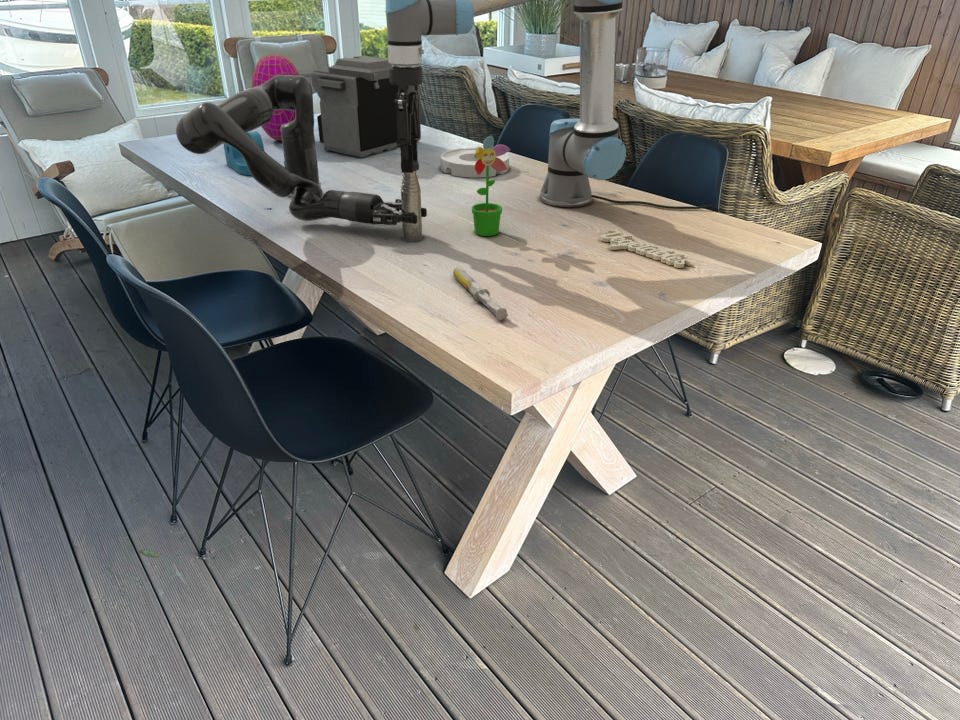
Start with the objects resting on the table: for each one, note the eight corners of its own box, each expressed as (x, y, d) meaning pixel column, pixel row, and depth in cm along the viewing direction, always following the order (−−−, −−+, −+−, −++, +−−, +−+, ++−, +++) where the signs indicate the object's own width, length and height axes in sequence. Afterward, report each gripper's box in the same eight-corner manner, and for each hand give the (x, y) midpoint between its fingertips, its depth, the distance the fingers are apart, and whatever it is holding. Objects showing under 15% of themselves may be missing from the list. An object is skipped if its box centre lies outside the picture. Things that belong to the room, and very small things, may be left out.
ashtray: (443, 158, 243) (443, 147, 241) (508, 159, 242) (508, 148, 240) (437, 176, 223) (437, 164, 221) (508, 178, 222) (509, 165, 220)
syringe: (449, 274, 155) (449, 263, 153) (465, 272, 156) (464, 260, 154) (490, 323, 135) (491, 310, 133) (508, 319, 136) (508, 307, 134)
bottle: (426, 237, 175) (423, 164, 166) (413, 243, 172) (410, 168, 162) (411, 233, 178) (408, 161, 168) (399, 238, 174) (395, 165, 165)
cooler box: (383, 133, 276) (378, 52, 261) (425, 141, 265) (422, 56, 250) (314, 150, 251) (304, 61, 235) (358, 160, 240) (350, 67, 224)
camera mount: (227, 164, 233) (221, 132, 227) (257, 160, 238) (252, 129, 233) (244, 176, 220) (239, 143, 215) (276, 172, 225) (271, 139, 220)
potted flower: (478, 239, 174) (479, 138, 161) (464, 230, 180) (464, 131, 167) (510, 234, 178) (514, 134, 165) (496, 224, 184) (498, 128, 171)
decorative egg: (293, 132, 276) (283, 50, 261) (319, 140, 264) (310, 56, 249) (249, 139, 265) (236, 54, 250) (273, 148, 253) (261, 60, 238)
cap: (415, 172, 164) (415, 164, 163) (398, 170, 164) (398, 163, 163) (421, 167, 167) (420, 160, 166) (404, 166, 168) (403, 158, 167)
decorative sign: (586, 237, 174) (611, 228, 179) (586, 240, 174) (611, 231, 180) (674, 268, 157) (698, 257, 162) (673, 272, 157) (698, 261, 163)
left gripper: (345, 201, 168) (408, 209, 163) (373, 185, 180) (433, 193, 175) (348, 230, 172) (409, 239, 167) (375, 213, 184) (433, 221, 179)
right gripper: (413, 71, 146) (417, 180, 158) (429, 60, 161) (432, 161, 173) (378, 70, 147) (385, 178, 159) (398, 59, 162) (403, 159, 174)
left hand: (421, 215), depth 171 cm, fingers closed on bottle, 5 cm apart
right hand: (409, 169), depth 166 cm, fingers closed on cap, 4 cm apart
